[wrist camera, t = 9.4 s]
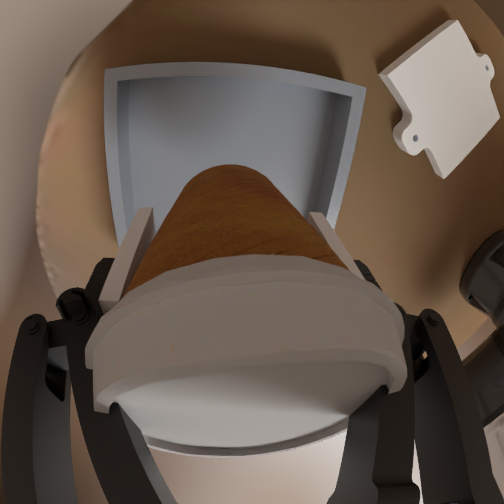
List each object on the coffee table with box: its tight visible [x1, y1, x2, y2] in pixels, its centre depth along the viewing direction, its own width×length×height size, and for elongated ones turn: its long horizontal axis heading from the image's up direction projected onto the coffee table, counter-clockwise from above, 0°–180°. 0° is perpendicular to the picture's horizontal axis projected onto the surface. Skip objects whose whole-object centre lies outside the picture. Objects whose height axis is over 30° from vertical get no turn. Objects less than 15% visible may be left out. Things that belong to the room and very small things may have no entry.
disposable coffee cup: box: [85, 164, 407, 458], centre depth 11 cm, size 10×10×12 cm
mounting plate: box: [378, 20, 500, 179], centre depth 18 cm, size 18×13×2 cm
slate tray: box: [104, 62, 367, 248], centre depth 21 cm, size 18×18×4 cm
